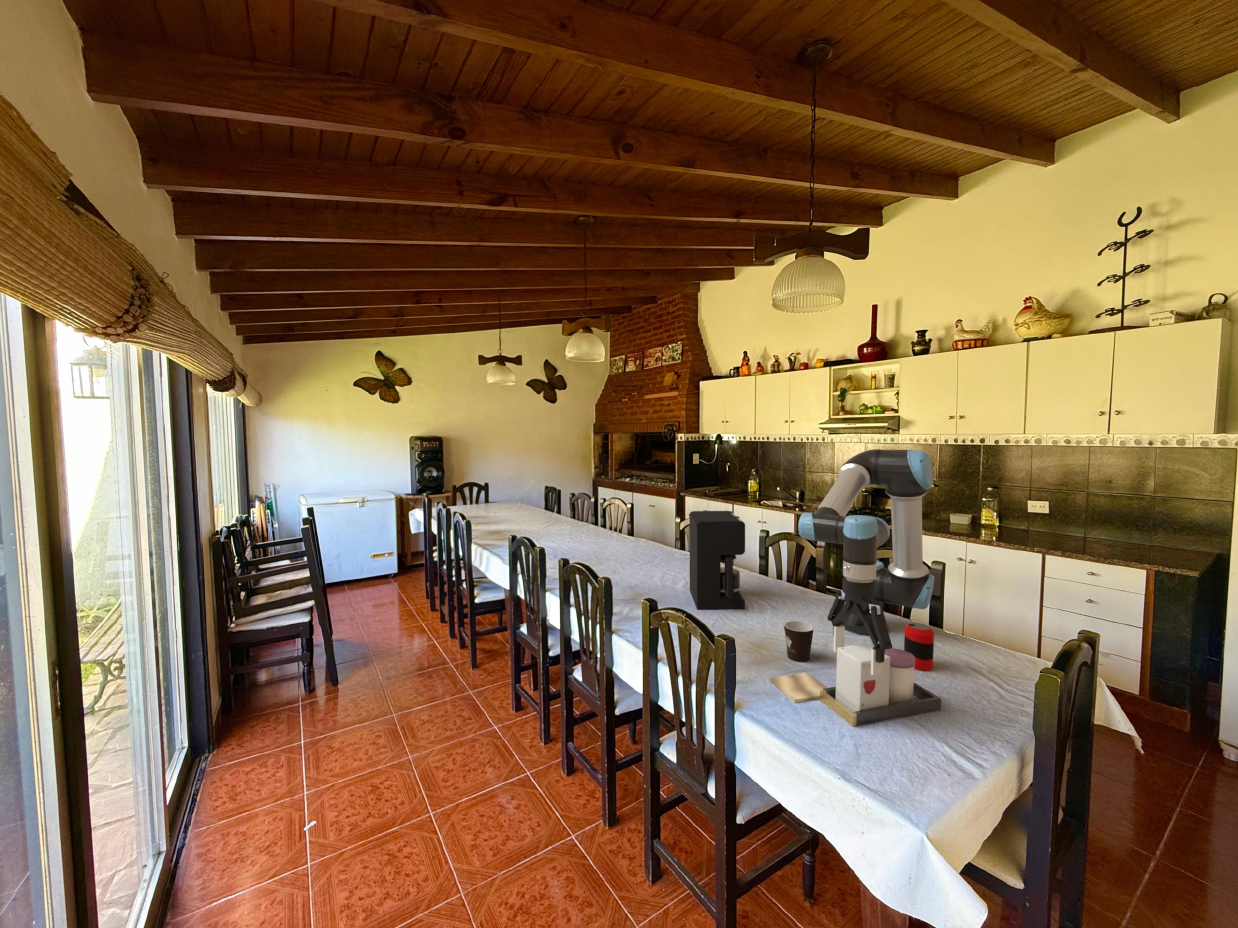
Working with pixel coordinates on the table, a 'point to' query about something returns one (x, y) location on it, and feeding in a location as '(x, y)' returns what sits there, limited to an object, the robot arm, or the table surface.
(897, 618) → the table surface
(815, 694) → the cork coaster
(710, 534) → the coffee maker
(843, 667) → the supplement box
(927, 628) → the soda can
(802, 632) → the coffee mug
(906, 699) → the cream lidded canister
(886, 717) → the grey tray
